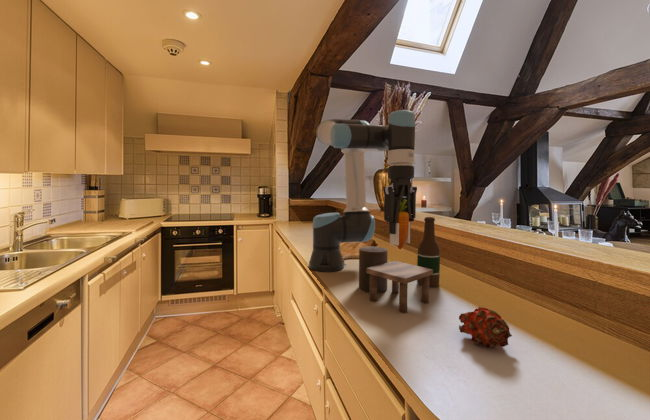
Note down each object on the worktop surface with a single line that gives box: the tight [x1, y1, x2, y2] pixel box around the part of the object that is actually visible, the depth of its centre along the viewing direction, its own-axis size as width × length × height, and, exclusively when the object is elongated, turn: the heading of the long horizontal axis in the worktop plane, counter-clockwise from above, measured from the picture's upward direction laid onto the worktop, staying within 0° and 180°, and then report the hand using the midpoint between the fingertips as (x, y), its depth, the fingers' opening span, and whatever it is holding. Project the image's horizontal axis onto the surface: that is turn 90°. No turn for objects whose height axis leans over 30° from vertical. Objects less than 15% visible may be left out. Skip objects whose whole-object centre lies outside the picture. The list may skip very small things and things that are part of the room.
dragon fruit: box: [458, 306, 513, 349], centre depth 67 cm, size 8×8×12 cm
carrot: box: [396, 199, 409, 250], centre depth 90 cm, size 5×5×15 cm
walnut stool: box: [366, 260, 433, 314], centre depth 92 cm, size 14×14×10 cm
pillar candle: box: [358, 245, 389, 294], centre depth 104 cm, size 10×10×15 cm
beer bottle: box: [416, 216, 441, 289], centre depth 107 cm, size 8×8×24 cm
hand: (399, 243), depth 91 cm, fingers closed on carrot, 5 cm apart
